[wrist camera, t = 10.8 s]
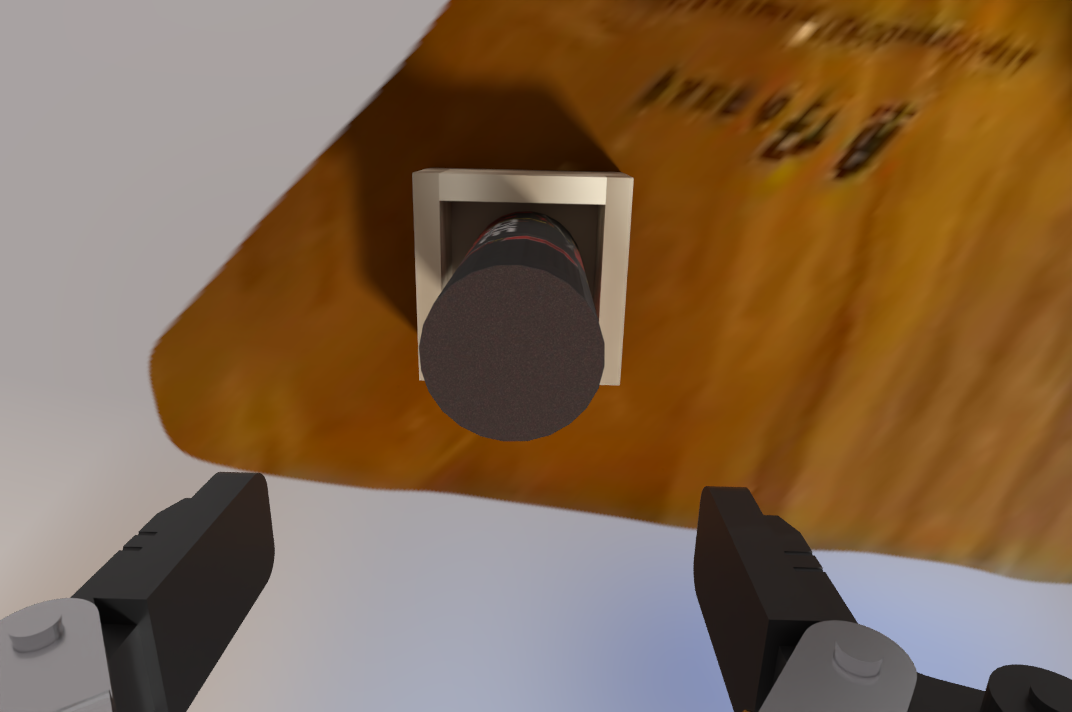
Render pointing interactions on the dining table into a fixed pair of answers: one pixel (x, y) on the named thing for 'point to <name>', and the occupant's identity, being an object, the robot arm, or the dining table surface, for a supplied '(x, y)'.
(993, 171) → the dining table surface
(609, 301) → the white wooden box
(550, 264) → the deodorant
